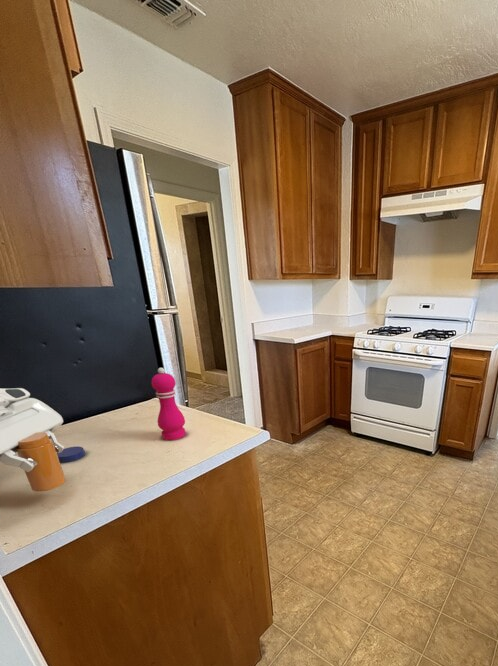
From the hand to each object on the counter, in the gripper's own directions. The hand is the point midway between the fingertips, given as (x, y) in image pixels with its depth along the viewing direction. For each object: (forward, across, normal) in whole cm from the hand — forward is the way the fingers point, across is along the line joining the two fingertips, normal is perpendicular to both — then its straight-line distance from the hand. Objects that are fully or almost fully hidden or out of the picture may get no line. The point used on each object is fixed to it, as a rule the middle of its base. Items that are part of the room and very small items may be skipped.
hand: (47, 459), depth 69 cm
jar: (+3, 0, +5) cm, 6 cm away
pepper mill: (+13, +33, 0) cm, 35 cm away
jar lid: (-3, +19, +14) cm, 24 cm away
